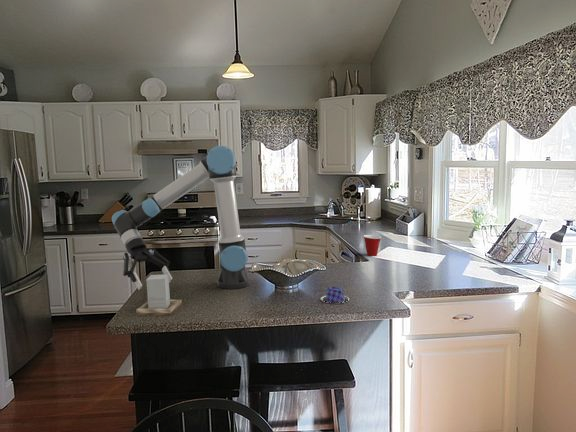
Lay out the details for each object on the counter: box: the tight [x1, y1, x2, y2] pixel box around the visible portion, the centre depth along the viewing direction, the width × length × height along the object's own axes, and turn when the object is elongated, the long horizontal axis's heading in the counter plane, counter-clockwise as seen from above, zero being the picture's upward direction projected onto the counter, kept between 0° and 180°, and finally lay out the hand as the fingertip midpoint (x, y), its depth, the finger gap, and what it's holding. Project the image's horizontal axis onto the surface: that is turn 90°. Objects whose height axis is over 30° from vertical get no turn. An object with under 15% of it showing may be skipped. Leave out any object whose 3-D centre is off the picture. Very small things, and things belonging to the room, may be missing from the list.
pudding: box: [320, 286, 350, 304], centre depth 195 cm, size 12×12×5 cm
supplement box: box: [145, 273, 171, 309], centre depth 186 cm, size 7×7×13 cm
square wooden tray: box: [135, 299, 184, 316], centre depth 187 cm, size 14×14×2 cm
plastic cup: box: [363, 234, 382, 257], centre depth 283 cm, size 11×11×12 cm
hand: (155, 284), depth 187 cm, fingers open, 13 cm apart
